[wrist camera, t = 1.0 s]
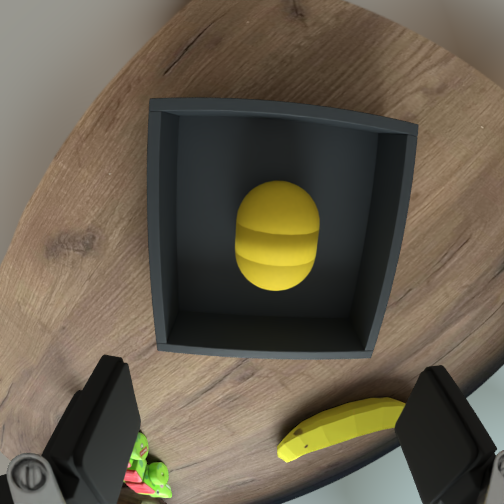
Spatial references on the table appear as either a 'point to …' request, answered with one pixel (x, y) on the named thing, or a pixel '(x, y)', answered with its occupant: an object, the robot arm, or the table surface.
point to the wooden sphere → (137, 498)
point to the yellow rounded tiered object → (276, 235)
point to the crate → (225, 214)
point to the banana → (340, 426)
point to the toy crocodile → (146, 472)
